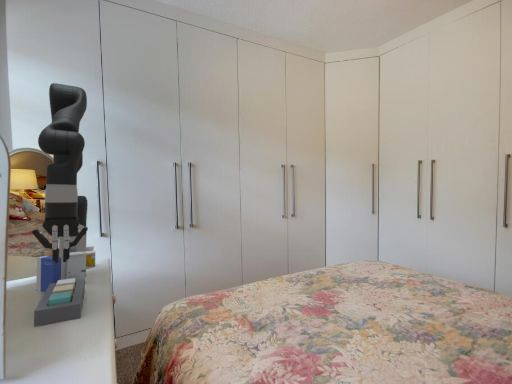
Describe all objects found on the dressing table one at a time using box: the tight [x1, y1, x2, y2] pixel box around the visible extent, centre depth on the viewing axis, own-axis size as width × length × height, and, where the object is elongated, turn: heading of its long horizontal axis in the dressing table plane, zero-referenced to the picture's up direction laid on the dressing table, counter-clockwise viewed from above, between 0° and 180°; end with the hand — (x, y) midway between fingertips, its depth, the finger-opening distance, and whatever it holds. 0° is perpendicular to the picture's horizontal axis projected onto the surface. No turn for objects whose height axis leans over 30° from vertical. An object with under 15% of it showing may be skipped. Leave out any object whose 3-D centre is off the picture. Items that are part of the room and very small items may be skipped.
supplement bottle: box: [86, 244, 96, 270], centre depth 125 cm, size 5×5×10 cm
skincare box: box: [66, 251, 87, 280], centre depth 101 cm, size 6×4×12 cm
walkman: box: [35, 255, 61, 293], centre depth 95 cm, size 8×3×12 cm, turn 75°
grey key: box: [56, 278, 75, 287], centre depth 88 cm, size 5×5×4 cm
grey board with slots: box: [33, 278, 86, 327], centre depth 82 cm, size 24×10×4 cm, turn 30°
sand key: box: [53, 284, 74, 294], centre depth 82 cm, size 5×5×4 cm
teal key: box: [49, 291, 72, 306], centre depth 76 cm, size 5×5×4 cm
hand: (61, 261), depth 76 cm, fingers closed
